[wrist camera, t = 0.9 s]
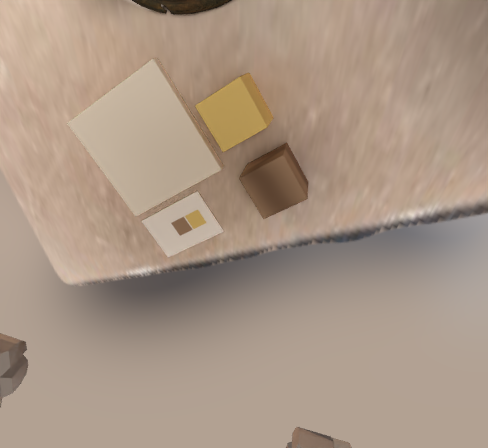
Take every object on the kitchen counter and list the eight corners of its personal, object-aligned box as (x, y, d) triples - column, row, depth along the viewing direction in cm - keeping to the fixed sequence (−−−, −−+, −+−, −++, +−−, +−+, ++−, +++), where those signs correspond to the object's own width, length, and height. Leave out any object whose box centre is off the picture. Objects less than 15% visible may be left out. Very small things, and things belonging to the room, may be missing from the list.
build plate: (157, 58, 37) (153, 58, 36) (224, 166, 41) (221, 169, 40) (73, 121, 42) (66, 123, 41) (139, 212, 46) (135, 216, 44)
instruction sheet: (197, 190, 43) (197, 191, 43) (223, 231, 45) (223, 231, 44) (141, 220, 46) (141, 221, 46) (168, 257, 48) (168, 257, 48)
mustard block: (249, 72, 36) (239, 76, 32) (273, 117, 37) (267, 127, 33) (209, 98, 38) (194, 105, 33) (233, 140, 39) (223, 152, 35)
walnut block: (287, 142, 38) (283, 155, 34) (308, 181, 40) (307, 199, 35) (247, 163, 40) (238, 178, 36) (269, 200, 42) (263, 219, 37)
